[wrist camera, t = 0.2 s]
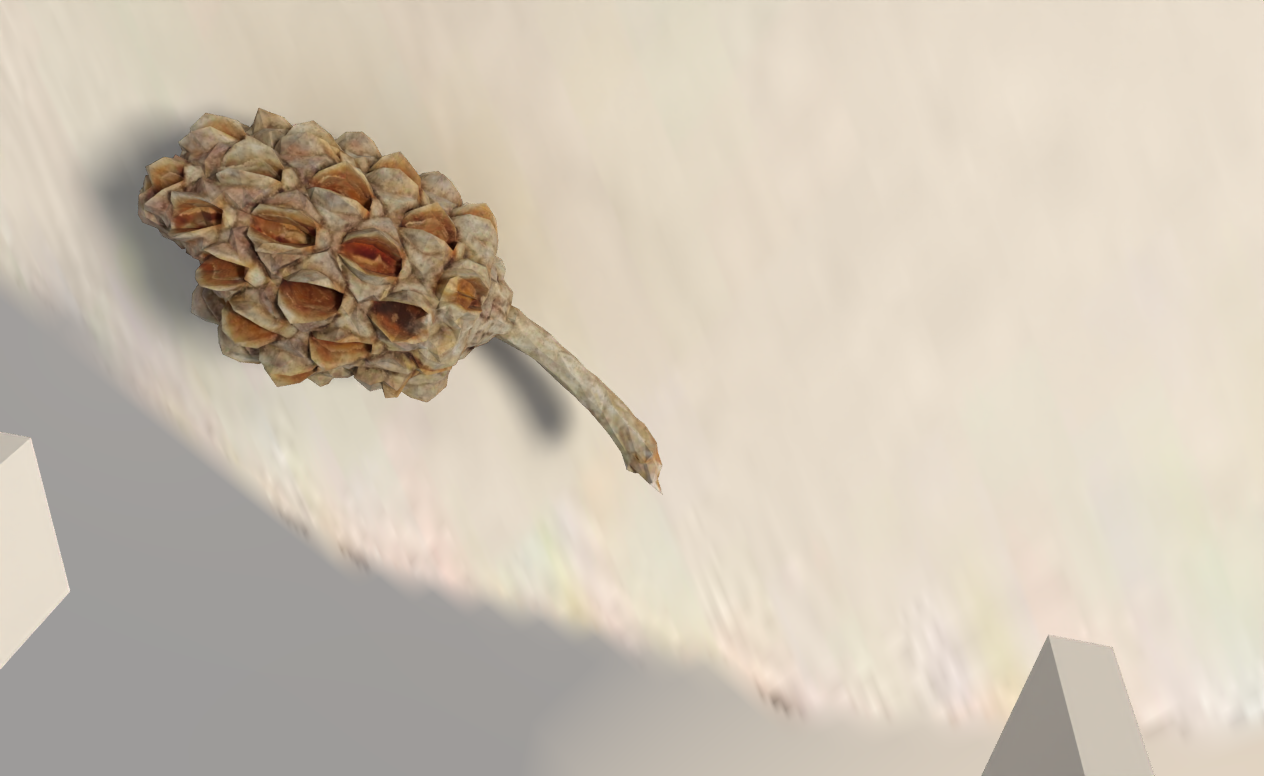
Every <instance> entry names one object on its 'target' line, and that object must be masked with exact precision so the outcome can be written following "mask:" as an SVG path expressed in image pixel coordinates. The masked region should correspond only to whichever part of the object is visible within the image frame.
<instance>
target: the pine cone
mask: <svg viewBox="0 0 1264 776" xmlns="http://www.w3.org/2000/svg"><path fill="white" fill-rule="evenodd" d="M178 143H179V145H180V147H181V149H182V152H181V155H180V157H179V156H177V155H175V156H174V157H173V158H168V157H163V158H161V159H159V160H157V161H155V162H154V163H152V164H150V165H148V166H146V170H147V173H148V175H146V176H145V179H144V183H143V185H144V186H143V188H142V189H141V190H140V194H139V201H138V215H139V217H140V219H141V220H142V222H143V223H146V224H148V225H151V226H153V227H156V228H158V229H159V231H160V232H161V234H162V236H163V237H165V238H168V239H170V240H173V241H174V242H175V243H176V244H177V245H178V246H179V247H180V248H181V249H185V248H186V253H187V254H189V255H191V256H192V257H193V258H195V259H198V260H199V261H200V264H201V265H200V266H199V268H198V269H197V270H196V274H195V279H196V281H197V282H198V286H197V287H196V289H195V290H194V292H193V293H192V309H191V313H192V314H194V315H196V316H198V317H200V318H201V319H203V320H205V321H208V322H211V323H215V324H218V325H219V326H218V339H219V345H220V348H221V351H222V353H223V355H226V356H228V357H230V358H232V359H234V360H237V361H239V362H245V363H255V364H260V363H262V364H263V365H264V369H265V370H266V372H267V373H268V375H269V376H270V377H271V379H272V380H273V382H274V383H275V385H276V386H277V387H280V386H285V385H291V384H296V383H300V382H302V381H303V380H305V379H306V378H308V379H310V380H311V381H313V382H314V383H316V384H317V385H319V386H320V387H321V386H324V385H326V384H329V382H330V381H331V380H332V379H333V378H348V377H350V376H353V375H354V378H355V379H356V380H357V381H358V382H360V383H361V384H362V385H363V386H364V387H365V388H367V389H368V390H369V391H373V390H377V389H381V388H382V389H383V392H384V395H385V398H393V397H398V396H399V394H400V393H401V392H403V393H404V394H406V395H407V396H409V397H411V398H414V399H417V400H421V401H424V402H428V401H430V400H431V399H432V398H434V397H435V396H436V395H437V394H438V393H439V392H441V391H442V390H443V389H444V388H445V387H446V386H447V379H448V374H449V372H450V370H451V369H452V366H454V365H456V363H457V361H458V360H460V359H464V358H465V357H466V356H467V355H468V354H469V353H470V352H471V351H472V350H473V349H474V348H475V347H478V346H481V345H483V344H486V343H488V342H489V341H490V340H491V339H492V338H493V337H496V338H498V339H500V340H502V341H504V342H506V343H507V344H509V345H511V346H513V347H515V348H516V349H518V350H520V351H522V352H524V353H526V354H527V355H529V356H530V357H532V358H533V359H535V360H536V361H537V362H538V363H539V364H540V365H541V366H542V367H543V368H544V369H545V370H546V371H547V372H548V373H549V374H551V375H552V376H553V377H554V378H555V379H556V380H557V381H558V382H559V383H560V384H561V385H562V386H563V387H565V388H566V389H567V390H568V391H569V392H570V393H571V394H572V395H574V396H575V397H576V398H577V399H578V401H579V402H580V403H581V404H582V405H583V406H585V407H586V408H587V409H588V410H589V411H590V412H591V414H592V415H593V416H594V417H595V418H596V419H597V421H598V422H599V423H600V424H601V425H602V426H603V428H604V429H605V430H606V431H607V432H608V434H609V435H610V437H611V438H612V440H613V441H614V442H615V444H616V445H617V447H618V448H619V450H620V451H621V453H622V456H623V459H624V462H625V466H626V469H627V470H628V471H631V472H633V473H639V474H640V475H641V476H642V477H643V478H644V479H645V480H646V481H647V482H648V483H649V484H650V485H651V486H652V487H654V488H655V489H656V490H657V491H658V492H660V493H661V494H662V491H661V488H660V485H659V482H658V477H659V473H660V470H661V467H662V463H661V460H660V457H659V454H658V450H657V442H656V441H655V439H654V438H653V436H652V435H651V433H650V432H649V430H648V429H647V427H646V426H645V424H644V423H642V422H641V421H640V420H639V419H637V418H636V417H635V416H634V415H633V413H632V412H631V411H630V409H629V408H628V407H627V406H626V405H625V404H624V403H623V402H622V401H621V400H620V399H619V398H618V397H617V396H616V395H615V394H614V393H613V392H612V391H611V390H610V389H609V388H608V387H607V386H606V385H605V384H604V383H603V382H602V381H601V380H600V379H599V378H598V377H597V376H595V375H594V374H593V373H591V372H590V371H588V370H587V369H586V368H585V367H584V366H583V365H582V364H581V363H580V362H579V361H578V360H577V358H576V357H575V356H573V355H572V354H571V353H570V352H569V351H567V350H566V349H565V348H564V347H562V346H561V345H560V343H559V342H558V341H557V340H556V339H555V338H554V337H553V336H552V335H551V334H550V333H548V332H547V331H546V330H544V329H543V328H542V327H540V326H539V325H537V324H536V323H534V322H533V321H531V320H530V319H528V318H527V317H526V316H525V315H524V314H523V313H522V312H521V311H520V310H519V309H517V308H515V307H513V306H512V305H511V303H512V297H513V291H512V290H511V289H510V288H509V286H508V285H507V284H506V282H505V281H504V275H505V270H506V269H505V267H504V264H503V261H502V260H501V259H500V258H498V257H496V256H495V255H496V253H497V246H498V235H497V222H496V219H495V217H494V215H493V213H492V212H491V210H490V209H489V207H488V206H487V204H486V203H482V204H469V203H465V204H463V202H462V199H461V196H460V194H459V193H458V191H457V190H456V188H455V187H454V185H453V184H452V182H451V181H450V180H449V179H448V178H447V177H446V176H445V175H443V174H441V173H440V172H439V171H436V172H435V171H434V172H428V173H423V174H421V175H420V176H419V175H418V174H417V172H416V171H415V170H414V168H413V167H412V166H411V164H410V163H409V162H408V160H407V159H406V158H405V157H404V156H403V154H402V153H401V152H397V153H393V154H390V155H386V156H383V157H382V156H381V154H380V152H379V150H378V149H377V147H376V145H375V143H374V141H373V140H371V139H370V138H369V137H368V136H367V135H365V134H364V133H363V132H345V133H344V134H343V135H342V136H340V137H339V138H338V139H336V140H334V139H333V137H332V136H331V134H329V133H328V132H327V131H326V130H324V129H323V128H322V127H321V126H319V125H318V124H317V123H316V122H314V121H310V122H305V123H301V124H297V125H294V126H292V125H291V124H290V123H289V122H288V121H287V120H286V119H285V118H284V117H281V116H279V115H276V114H273V113H271V112H268V111H265V110H263V109H260V108H258V111H257V114H256V117H255V120H254V123H253V124H252V126H251V127H250V128H249V126H247V125H244V124H241V123H239V121H237V120H234V119H231V118H227V117H223V116H218V115H213V114H208V113H205V114H204V115H203V116H202V117H201V118H200V119H199V120H198V121H197V122H196V123H195V124H194V125H193V126H192V127H191V128H190V133H189V134H188V135H187V136H185V137H184V138H183V139H182V140H180V141H179V142H178ZM662 495H663V494H662Z"/></svg>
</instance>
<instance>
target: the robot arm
mask: <svg viewBox="0 0 1264 776" xmlns="http://www.w3.org/2000/svg"><path fill="white" fill-rule="evenodd" d="M69 592H70V589H69V585H68V581H67V577H66V573H65V570H64V565H63V561H62V557H61V554H60V549H59V546H58V542H57V538H56V534H55V530H54V526H53V522H52V518H51V514H50V510H49V507H48V502H47V499H46V495H45V491H44V487H43V483H42V479H41V475H40V471H39V467H38V463H37V460H36V455H35V452H34V448H33V444H32V440H31V438H30V437H25V436H20V435H14V434H9V433H4V432H0V669H1V668H2V667H3V666H4V665H5V663H6V662H7V661H8V660H9V659H10V658H11V657H12V656H13V654H14V653H15V652H16V651H17V650H18V649H19V648H20V647H21V645H23V643H24V642H25V641H26V640H27V639H28V638H29V637H30V636H31V634H32V633H33V632H34V631H35V630H36V629H37V628H38V627H39V625H40V624H41V623H42V622H43V621H44V620H45V619H46V618H47V617H48V615H49V614H50V613H51V612H52V611H53V610H54V609H55V608H56V607H57V605H58V604H59V603H60V602H61V601H62V600H63V599H64V598H65V596H66V595H67V594H68V593H69ZM982 776H1155V775H1154V772H1153V770H1152V767H1151V763H1150V760H1149V757H1148V754H1147V751H1146V748H1145V745H1144V742H1143V739H1142V736H1141V733H1140V730H1139V726H1138V723H1137V720H1136V717H1135V714H1134V711H1133V708H1132V705H1131V702H1130V699H1129V696H1128V693H1127V690H1126V687H1125V684H1124V681H1123V678H1122V675H1121V672H1120V668H1119V665H1118V662H1117V659H1116V656H1115V653H1114V650H1113V647H1109V646H1104V645H1099V644H1094V643H1088V642H1083V641H1078V640H1073V639H1068V638H1063V637H1057V636H1052V635H1048V637H1047V639H1046V641H1045V643H1044V645H1043V647H1042V649H1041V651H1040V654H1039V656H1038V658H1037V660H1036V662H1035V664H1034V666H1033V668H1032V670H1031V672H1030V675H1029V677H1028V679H1027V681H1026V683H1025V685H1024V687H1023V689H1022V691H1021V694H1020V696H1019V698H1018V700H1017V702H1016V704H1015V706H1014V708H1013V710H1012V712H1011V715H1010V717H1009V719H1008V721H1007V723H1006V725H1005V727H1004V729H1003V731H1002V733H1001V736H1000V738H999V740H998V742H997V744H996V746H995V748H994V750H993V752H992V755H991V757H990V759H989V761H988V763H987V765H986V767H985V769H984V771H983V773H982Z"/></svg>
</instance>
